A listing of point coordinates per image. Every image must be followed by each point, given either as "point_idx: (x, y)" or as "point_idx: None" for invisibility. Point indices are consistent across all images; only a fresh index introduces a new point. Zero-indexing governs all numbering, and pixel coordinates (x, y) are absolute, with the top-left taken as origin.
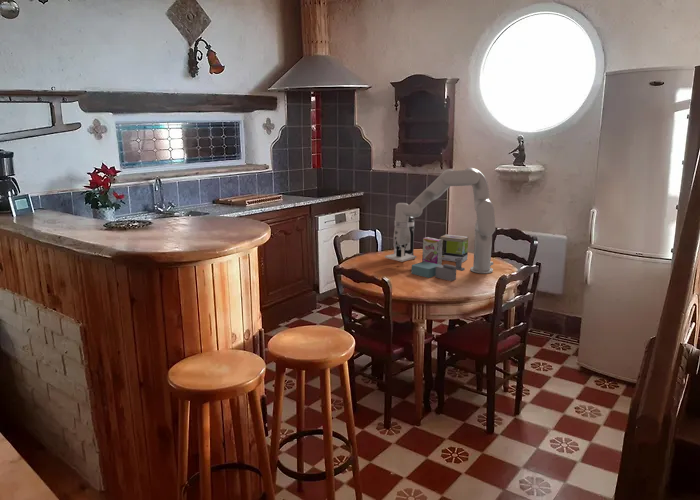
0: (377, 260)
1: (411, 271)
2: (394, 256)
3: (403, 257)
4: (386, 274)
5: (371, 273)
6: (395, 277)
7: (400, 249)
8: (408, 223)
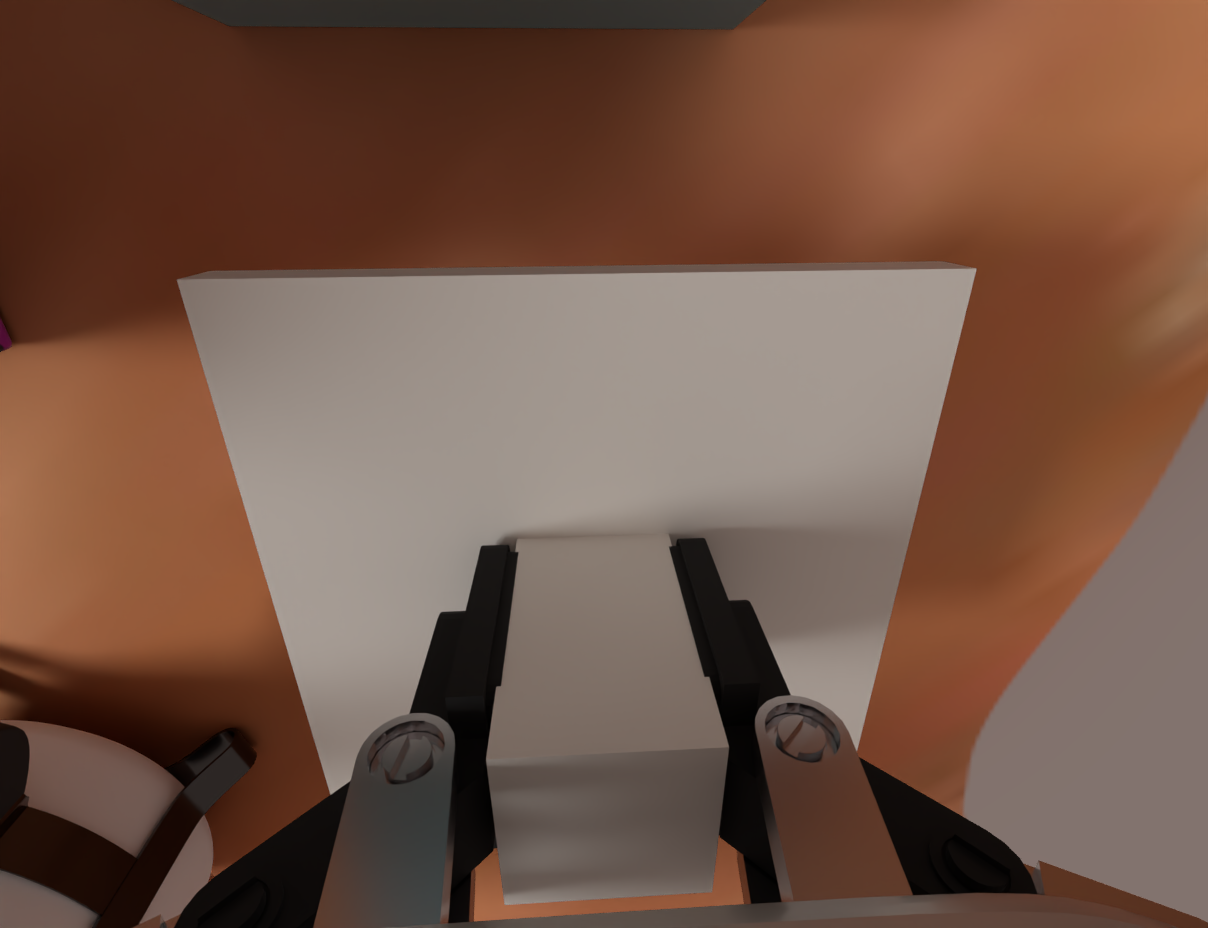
0: (495, 873)
1: (748, 15)
2: None
3: (675, 450)
4: (1047, 374)
5: (1099, 560)
6: (1169, 107)
7: (762, 718)
8: None
